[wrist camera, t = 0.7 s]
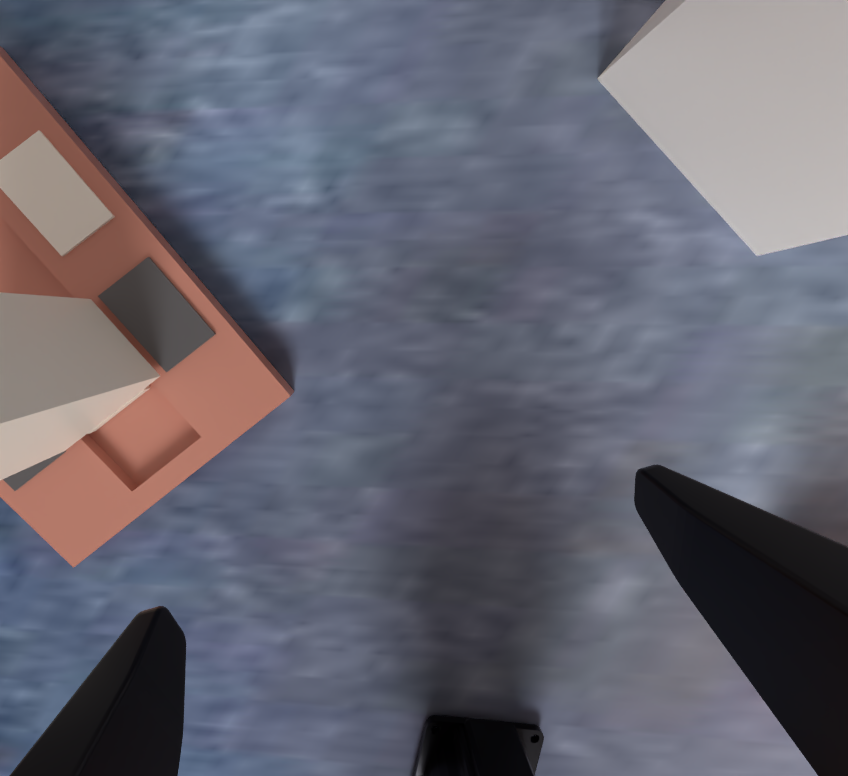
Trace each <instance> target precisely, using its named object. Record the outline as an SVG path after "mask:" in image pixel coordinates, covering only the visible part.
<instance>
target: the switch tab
mask: <svg viewBox="0 0 848 776" xmlns="http://www.w3.org/2000/svg"><path fill="white" fill-rule="evenodd" d="M159 377H160V375H159V374H158V373H157V372H156V370H155V369H154V368H153V367H152V366H151V365H150V364H149V363H148V362H147V361H146V359H145V358H144V357H143V356H142V355H141V354H140V353H139V352H138V351H137V349H136V348H135V347H134V346H133V345H132V344H131V343H130V342H129V341H128V340H127V338H126V337H125V336H124V335H123V334H122V333H121V332H120V331H119V330H118V329H117V327H116V326H115V325H114V324H113V323H112V322H111V321H110V320H109V319H108V317H107V316H106V315H105V314H104V313H103V312H102V311H101V310H100V309H99V308H98V306H97V305H96V304H95V303H94V302H93V301H92V300H91V299H84V298H70V297H56V296H43V295H29V294H15V293H2V292H0V480H2V479H5V478H7V477H9V476H11V475H13V474H16V473H18V472H20V471H22V470H24V469H26V468H29V467H31V466H33V465H35V464H37V463H40V462H42V461H44V460H46V459H48V458H51V457H53V456H55V455H57V454H59V453H61V452H64V451H65V450H67V449H68V448H69V447H71V446H72V445H73V444H74V443H76V442H77V441H78V440H80V439H81V438H82V437H83V436H85V435H86V434H90V433H92V432H94V431H96V430H98V429H99V428H100V427H101V426H103V425H104V424H105V423H106V422H108V421H109V420H110V419H112V418H113V417H114V416H115V415H117V414H118V413H119V412H120V411H122V410H123V409H124V408H126V407H127V406H128V405H129V404H131V403H132V402H133V401H135V400H136V399H137V398H138V397H140V396H141V395H142V394H143V393H145V392H146V391H147V390H149V389H150V386H149V385H150V384H151V383H152V382H154V381H155V380H156V379H157V378H159Z"/></svg>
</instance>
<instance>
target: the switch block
mask: <svg viewBox="0 0 848 776" xmlns="http://www.w3.org/2000/svg"><path fill="white" fill-rule="evenodd" d="M0 292H2V293H15V294H29V295H43V296H56V297H70V298H84V299H91V300H92V301H93V302H94V303H95V304H96V305H97V306H98V308H99V309H100V310H101V311H102V312H103V313H104V314H105V315H106V316H107V317H108V319H109V320H110V321H111V322H112V323H113V324H114V325H115V326H116V327H117V329H118V330H119V331H120V332H121V333H122V334H123V335H124V336H125V337H126V338H127V340H128V341H129V342H130V343H131V344H132V345H133V346H134V347H135V348H136V349H137V351H138V352H139V353H140V354H141V355H142V356H143V357H144V358H145V359H146V361H147V362H148V363H149V364H150V365H151V366H152V367H153V368H154V369H155V370H156V372H157V373H158V374H159V375H160V377H159V378H157V379H156V380H155V381H154V382H152V383H151V384H150V385H149V386H150V389H149V390H147V391H146V392H145V393H143V394H142V395H141V396H140V397H138V398H137V399H136V400H135V401H133V402H132V403H131V404H129V405H128V406H127V407H126V408H124V409H123V410H122V411H120V412H119V413H118V414H117V415H115V416H114V417H113V418H112V419H110V420H109V421H108V422H106V423H105V424H104V425H103V426H101V427H100V428H99V429H98V430H96V431H94V432H92V433H90V434H86V435H85V436H83V437H82V438H81V439H80V440H78V441H77V442H76V443H74V444H73V445H72V446H71V447H69V448H68V449H67V450H65V451H64V452H61V453H59V454H57V455H55V456H53V457H51V458H48V459H46V460H44V461H42V462H40V463H37V464H35V465H33V466H31V467H29V468H26V469H24V470H22V471H20V472H18V473H16V474H13V475H11V476H9V477H7V478H5V479H2V480H0V497H1V498H2V499H3V500H4V501H5V502H6V503H7V504H8V505H9V506H10V507H11V508H12V509H13V510H14V511H16V512H17V513H18V514H19V515H20V516H21V517H22V518H23V519H24V520H25V521H26V522H27V523H28V524H29V525H30V526H31V527H32V528H33V529H34V530H35V531H36V532H37V533H38V534H39V535H40V536H41V537H42V538H43V539H45V540H46V541H47V542H48V543H49V544H50V545H51V546H52V547H53V548H54V549H55V550H56V551H57V552H58V553H59V554H60V555H61V556H62V557H63V558H64V559H65V560H66V561H67V562H68V563H69V564H70V565H71V566H72V567H73V568H74V567H75V566H76V565H77V564H79V563H80V562H81V561H82V560H84V559H85V558H86V557H88V556H89V555H90V554H91V553H93V552H94V551H95V550H96V549H98V548H99V547H100V546H101V545H103V544H104V543H105V542H106V541H108V540H109V539H110V538H112V537H113V536H114V535H115V534H117V533H118V532H119V531H120V530H122V529H123V528H124V527H125V526H127V525H128V524H129V523H131V522H132V521H133V520H134V519H136V518H137V517H138V516H139V515H141V514H142V513H143V512H144V511H146V510H147V509H148V508H150V507H151V506H152V505H153V504H155V503H156V502H157V501H158V500H160V499H161V498H162V497H163V496H165V495H166V494H167V493H169V492H170V491H171V490H172V489H174V488H175V487H176V486H177V485H179V484H180V483H181V482H182V481H184V480H185V479H186V478H187V477H189V476H190V475H191V474H193V473H194V472H195V471H196V470H198V469H199V468H200V467H201V466H203V465H204V464H205V463H206V462H208V461H209V460H210V459H212V458H213V457H214V456H215V455H217V454H218V453H219V452H220V451H222V450H223V449H224V448H225V447H227V446H228V445H229V444H231V443H232V442H233V441H234V440H236V439H237V438H238V437H239V436H241V435H242V434H243V433H244V432H246V431H247V430H248V429H250V428H251V427H252V426H253V425H255V424H256V423H257V422H258V421H260V420H261V419H262V418H263V417H265V416H266V415H267V414H269V413H270V412H271V411H272V410H274V409H275V408H276V407H277V406H279V405H280V404H281V403H282V402H284V401H285V400H286V399H287V398H289V397H290V396H291V395H292V394H293V393H294V390H293V389H292V388H291V387H290V386H289V384H288V383H287V382H286V381H285V380H284V378H283V377H282V376H281V375H280V374H279V373H278V371H277V370H276V369H275V368H274V367H273V366H272V364H271V363H270V362H269V361H268V360H267V358H266V357H265V356H264V355H263V354H262V353H261V351H260V350H259V349H258V348H257V347H256V345H255V344H254V343H253V342H252V341H251V340H250V338H249V337H248V336H247V335H246V334H245V333H244V331H243V330H242V329H241V328H240V327H239V325H238V324H237V323H236V322H235V321H234V320H233V318H232V317H231V316H230V315H229V314H228V313H227V311H226V310H225V309H224V308H223V307H222V305H221V304H220V303H219V302H218V301H217V300H216V298H215V297H214V296H213V295H212V294H211V293H210V291H209V290H208V289H207V288H206V287H205V285H204V284H203V283H202V282H201V281H200V280H199V278H198V277H197V276H196V275H195V274H194V273H193V271H192V270H191V269H190V268H189V267H188V265H187V264H186V263H185V262H184V261H183V260H182V258H181V257H180V256H179V255H178V254H177V253H176V251H175V250H174V249H173V248H172V247H171V245H170V244H169V243H168V242H167V241H166V240H165V238H164V237H163V236H162V235H161V234H160V232H159V231H158V230H157V229H156V228H155V227H154V225H153V224H152V223H151V222H150V221H149V220H148V218H147V217H146V216H145V215H144V214H143V212H142V211H141V210H140V209H139V208H138V207H137V205H136V204H135V203H134V202H133V201H132V200H131V198H130V197H129V196H128V195H127V194H126V192H125V191H124V190H123V189H122V188H121V187H120V185H119V184H118V183H117V182H116V181H115V180H114V178H113V177H112V176H111V175H110V174H109V172H108V171H107V170H106V169H105V168H104V167H103V165H102V164H101V163H100V162H99V161H98V160H97V158H96V157H95V156H94V155H93V154H92V152H91V151H90V150H89V149H88V148H87V147H86V145H85V144H84V143H83V142H82V141H81V139H80V138H79V137H78V136H77V135H76V134H75V132H74V131H73V130H72V129H71V128H70V127H69V125H68V124H67V123H66V122H65V121H64V119H63V118H62V117H61V116H60V115H59V114H58V112H57V111H56V110H55V109H54V108H53V107H52V105H51V104H50V103H49V102H48V101H47V99H46V98H45V97H44V96H43V95H42V94H41V92H40V91H39V90H38V89H37V88H36V87H35V85H34V84H33V83H32V82H31V81H30V79H29V78H28V77H27V76H26V75H25V74H24V72H23V71H22V70H21V69H20V68H19V67H18V65H17V64H16V63H15V62H14V61H13V59H12V58H11V57H10V56H9V55H8V54H7V52H6V51H5V50H4V49H3V48H2V47H0Z"/></svg>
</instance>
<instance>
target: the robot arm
mask: <svg viewBox="0 0 848 776" xmlns="http://www.w3.org/2000/svg"><path fill="white" fill-rule="evenodd" d="M634 502H635V507H636V510H637V512H638V514H639V516H640V517H641V519H642V521H643V522H644V524H645V526H646V528H647V529H648V531H649V533H650V535H651V536H652V538H653V540H654V542H655V543H656V545H657V547H658V549H659V550H660V552H661V554H662V555H663V557H664V559H665V561H666V562H667V564H668V566H669V568H670V569H671V571H672V573H673V574H674V576H675V578H676V579H677V581H678V582H679V584H680V585H681V587H682V588H683V590H684V591H685V592H686V594H687V595H688V597H689V598H690V599H691V601H692V602H693V603H694V605H695V606H696V608H697V609H698V610H699V612H700V613H701V615H702V616H703V617H704V619H705V620H706V621H707V623H708V624H709V626H710V627H711V628H712V630H713V631H714V632H715V634H716V635H717V637H718V638H719V639H720V641H721V642H722V644H723V645H724V646H725V648H726V649H727V650H728V652H729V653H730V655H731V656H732V657H733V659H734V660H735V661H736V663H737V664H738V666H739V667H740V668H741V670H742V671H743V672H744V674H745V675H746V677H747V678H748V679H749V681H750V682H751V684H752V685H753V686H754V688H755V689H756V690H757V692H758V693H759V695H760V696H761V697H762V699H763V700H764V701H765V703H766V704H767V706H768V707H769V708H770V710H771V711H772V713H773V714H774V715H775V717H776V718H777V719H778V721H779V722H780V724H781V725H782V726H783V728H784V729H785V730H786V732H787V733H788V735H789V736H790V737H791V739H792V740H793V742H794V743H795V744H796V746H797V747H798V748H799V750H800V751H801V753H802V754H803V755H804V757H805V758H806V759H807V761H808V762H809V764H810V765H811V766H812V768H813V769H814V770H815V772H816V773H817V775H818V776H848V547H847V546H844V545H842V544H840V543H838V542H835V541H833V540H831V539H828V538H826V537H824V536H822V535H819V534H817V533H815V532H812V531H810V530H808V529H806V528H803V527H801V526H799V525H796V524H794V523H792V522H790V521H787V520H785V519H783V518H780V517H778V516H776V515H774V514H771V513H769V512H767V511H764V510H762V509H760V508H757V507H755V506H753V505H751V504H748V503H746V502H744V501H741V500H739V499H737V498H735V497H732V496H730V495H728V494H725V493H723V492H721V491H719V490H716V489H714V488H712V487H709V486H707V485H705V484H703V483H700V482H698V481H696V480H693V479H691V478H689V477H687V476H684V475H682V474H680V473H677V472H675V471H673V470H671V469H668V468H666V467H664V466H661V465H652V466H648V467H645V468H641V469H639V470H638V471H637V472H636V476H635V495H634ZM185 666H186V639H185V636H184V633H183V631H182V629H181V628H180V626H179V625H178V624H177V622H176V621H175V619H174V618H173V616H172V615H171V613H170V612H169V610H168V609H167V608H166V607H164V606H158V607H155V608H151V609H148V610H144V611H142V612H140V613H138V614H137V615H136V616H135V617H134V619H133V620H132V621H131V623H130V624H129V625H128V626H127V628H126V629H125V630H124V631H123V633H122V634H121V635H120V636H119V638H118V639H117V640H116V642H115V643H114V644H113V645H112V647H111V648H110V649H109V650H108V652H107V653H106V654H105V656H104V657H103V658H102V659H101V661H100V662H99V663H98V664H97V666H96V667H95V668H94V669H93V671H92V672H91V673H90V675H89V676H88V677H87V678H86V680H85V681H84V682H83V683H82V685H81V686H80V687H79V688H78V690H77V691H76V692H75V694H74V695H73V696H72V697H71V699H70V700H69V701H68V702H67V704H66V705H65V706H64V707H63V709H62V710H61V711H60V713H59V714H58V715H57V716H56V718H55V719H54V720H53V721H52V723H51V724H50V725H49V727H48V728H47V729H46V730H45V732H44V733H43V734H42V735H41V737H40V738H39V739H38V740H37V742H36V743H35V744H34V746H33V747H32V748H31V749H30V751H29V752H28V753H27V754H26V756H25V757H24V758H23V759H22V761H21V762H20V763H19V765H18V766H17V767H16V768H15V770H14V771H13V772H12V773H11V775H10V776H177V775H178V768H179V761H180V754H181V746H182V737H183V723H184V696H185ZM435 725H438V727H437V728H432V727H433V726H435ZM533 735H536V736H534V737H531V736H533ZM543 740H544V736H543V733H542V731H541V729H540V727H539V726H537V725H532V724H522V723H512V722H502V721H491V720H481V719H471V718H460V717H450V716H440V715H433V716H431V717H429V718H428V719H427V720H426V723H425V727H424V731H423V735H422V740H421V744H420V748H419V753H418V757H417V762H416V766H415V770H414V775H413V776H535V771H536V767H537V763H538V759H539V756H540V752H541V748H542V744H543Z"/></svg>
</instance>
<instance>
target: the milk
mask: <svg viewBox="0 0 848 776" xmlns="http://www.w3.org/2000/svg"><path fill="white" fill-rule="evenodd" d="M597 79H598V80H599V82H600V83H601V84H602V85H603V86H604V87H605V88H606V89H607V90H608V91H609V93H610V94H611V95H612V96H613V97H614V98H615V99H616V100H617V101H618V103H619V104H620V105H621V106H622V107H623V108H624V109H625V110H626V111H627V113H628V114H629V115H630V116H631V117H632V118H633V119H634V120H635V121H636V123H637V124H638V125H639V126H640V127H641V128H642V129H643V130H644V131H645V133H646V134H647V135H648V136H649V137H650V138H651V139H652V140H653V141H654V142H655V144H656V145H657V146H658V147H659V148H660V149H661V150H662V151H663V152H664V154H665V155H666V156H667V157H668V158H669V159H670V160H671V161H672V162H673V164H674V165H675V166H676V167H677V168H678V169H679V170H680V171H681V172H682V174H683V175H684V176H685V177H686V178H687V179H688V180H689V181H690V182H691V184H692V185H693V186H694V187H695V188H696V189H697V190H698V191H699V192H700V193H701V195H702V196H703V197H704V198H705V199H706V200H707V201H708V202H709V203H710V205H711V206H712V207H713V208H714V209H715V210H716V211H717V212H718V213H719V215H720V216H721V217H722V218H723V219H724V220H725V221H726V222H727V223H728V225H729V226H730V227H731V228H732V229H733V230H734V231H735V232H736V233H737V235H738V236H739V237H740V238H741V239H742V240H743V241H744V242H745V243H746V244H747V246H748V247H749V248H750V249H751V250H752V251H753V252H754V253H755V254H756V256H759V255H763V254H768V253H772V252H776V251H781V250H785V249H789V248H793V247H798V246H802V245H806V244H810V243H815V242H819V241H823V240H828V239H832V238H836V237H840V236H845V235H848V0H665V1H664V2H663V4H662V5H661V6H660V7H659V8H658V9H657V11H656V12H655V13H654V14H653V15H652V16H651V17H650V19H649V20H648V21H647V22H646V23H645V24H644V25H643V27H642V28H641V29H640V30H639V31H638V32H637V34H636V35H635V36H634V37H633V38H632V39H631V40H630V42H629V43H628V44H627V45H626V46H625V47H624V48H623V50H622V51H621V52H620V53H619V54H618V55H617V57H616V58H615V59H614V60H613V61H612V62H611V63H610V65H609V66H608V67H607V68H606V69H605V70H604V71H603V73H602V74H601V75H600V76H599V77H598V78H597Z"/></svg>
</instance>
